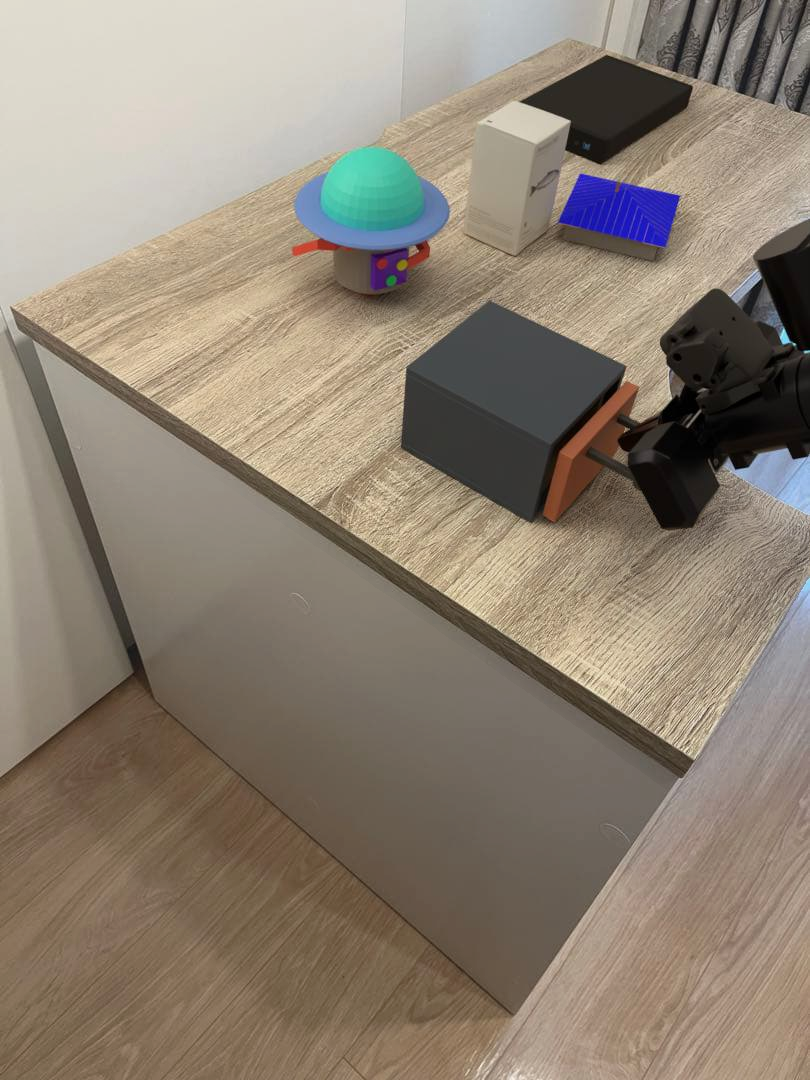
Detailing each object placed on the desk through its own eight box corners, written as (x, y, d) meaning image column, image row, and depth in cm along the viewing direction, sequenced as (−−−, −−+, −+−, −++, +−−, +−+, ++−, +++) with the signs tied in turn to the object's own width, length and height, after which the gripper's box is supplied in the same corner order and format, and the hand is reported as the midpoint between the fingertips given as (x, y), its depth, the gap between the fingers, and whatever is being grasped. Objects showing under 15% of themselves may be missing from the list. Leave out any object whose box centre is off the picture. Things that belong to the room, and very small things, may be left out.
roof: (576, 191, 105) (585, 147, 100) (674, 214, 102) (688, 170, 98) (553, 241, 97) (563, 196, 93) (659, 266, 95) (673, 221, 91)
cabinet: (601, 445, 76) (627, 365, 69) (531, 523, 70) (551, 444, 63) (477, 380, 81) (489, 299, 74) (400, 448, 75) (406, 367, 68)
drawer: (675, 480, 73) (702, 417, 67) (615, 557, 67) (639, 494, 62) (498, 389, 79) (510, 324, 74) (430, 451, 73) (437, 386, 68)
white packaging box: (516, 258, 95) (536, 144, 85) (460, 233, 97) (474, 120, 87) (550, 231, 98) (573, 119, 89) (496, 208, 101) (513, 97, 91)
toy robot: (399, 233, 96) (405, 104, 86) (468, 306, 88) (486, 174, 78) (274, 264, 91) (265, 131, 80) (336, 344, 83) (335, 209, 72)
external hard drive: (686, 108, 121) (693, 86, 119) (600, 165, 109) (606, 141, 107) (600, 76, 126) (605, 54, 124) (509, 126, 115) (513, 103, 112)
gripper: (822, 221, 57) (631, 297, 69) (704, 357, 47) (505, 417, 59) (882, 366, 60) (689, 414, 73) (784, 521, 50) (580, 546, 63)
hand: (621, 442), depth 67 cm, fingers closed
